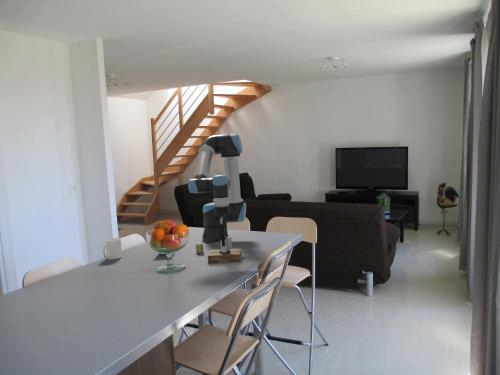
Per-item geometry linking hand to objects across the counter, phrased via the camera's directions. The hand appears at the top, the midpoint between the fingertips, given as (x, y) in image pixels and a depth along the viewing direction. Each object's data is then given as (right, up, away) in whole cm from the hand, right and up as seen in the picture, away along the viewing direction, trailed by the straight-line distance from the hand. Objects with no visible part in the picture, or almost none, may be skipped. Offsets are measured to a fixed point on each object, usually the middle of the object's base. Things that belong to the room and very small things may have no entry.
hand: (224, 250), depth 209 cm
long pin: (0, -5, +1) cm, 5 cm away
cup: (-63, -7, +16) cm, 65 cm away
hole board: (0, -5, 0) cm, 5 cm away
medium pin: (+1, -3, +16) cm, 17 cm away
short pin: (-15, -4, +17) cm, 23 cm away
